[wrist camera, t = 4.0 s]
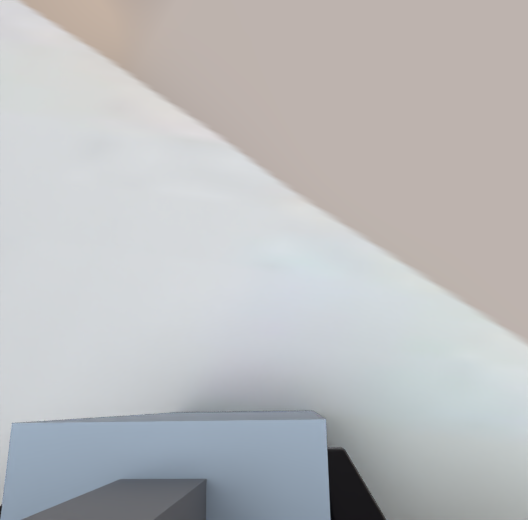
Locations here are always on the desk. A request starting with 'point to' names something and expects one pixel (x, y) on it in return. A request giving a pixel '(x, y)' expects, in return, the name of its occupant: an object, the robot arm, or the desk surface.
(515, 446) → the desk surface
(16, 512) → the box with grey fin
